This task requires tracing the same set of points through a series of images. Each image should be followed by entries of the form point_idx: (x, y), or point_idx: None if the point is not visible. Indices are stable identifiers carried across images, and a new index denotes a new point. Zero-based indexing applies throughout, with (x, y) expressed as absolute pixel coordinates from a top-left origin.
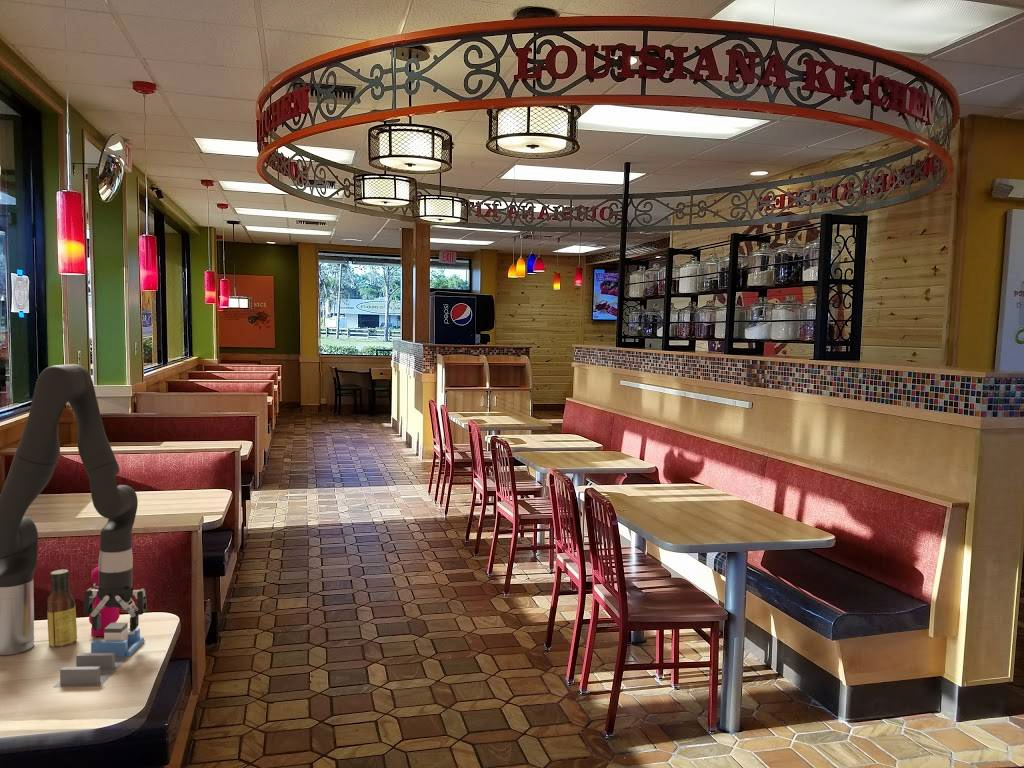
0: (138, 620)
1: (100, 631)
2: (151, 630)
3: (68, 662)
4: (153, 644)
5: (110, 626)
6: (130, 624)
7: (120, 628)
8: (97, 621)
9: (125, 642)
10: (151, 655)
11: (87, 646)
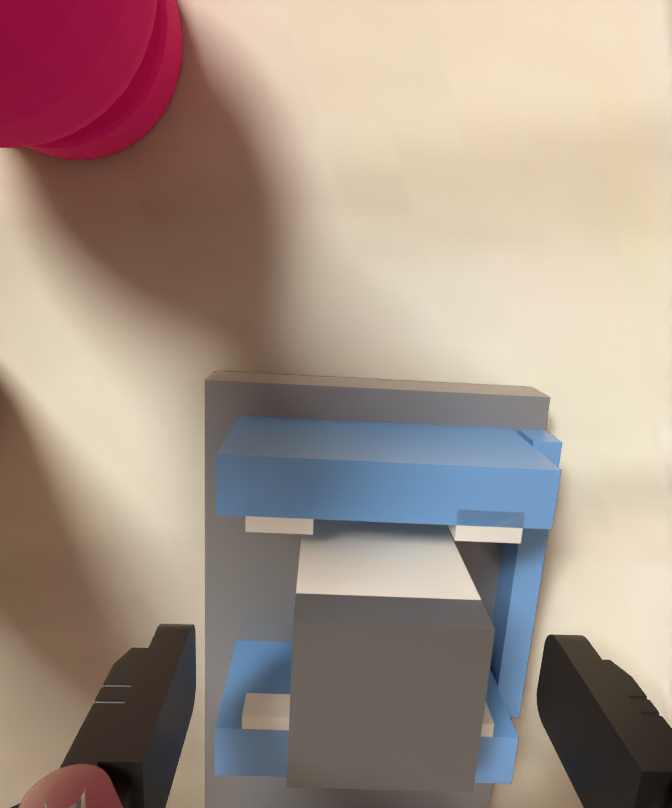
0: (664, 721)
1: (61, 148)
2: (497, 8)
3: (86, 632)
4: (586, 359)
5: (331, 732)
6: (578, 782)
7: (466, 790)
8: (166, 793)
9: (510, 775)
10: (612, 559)
11: (76, 363)
